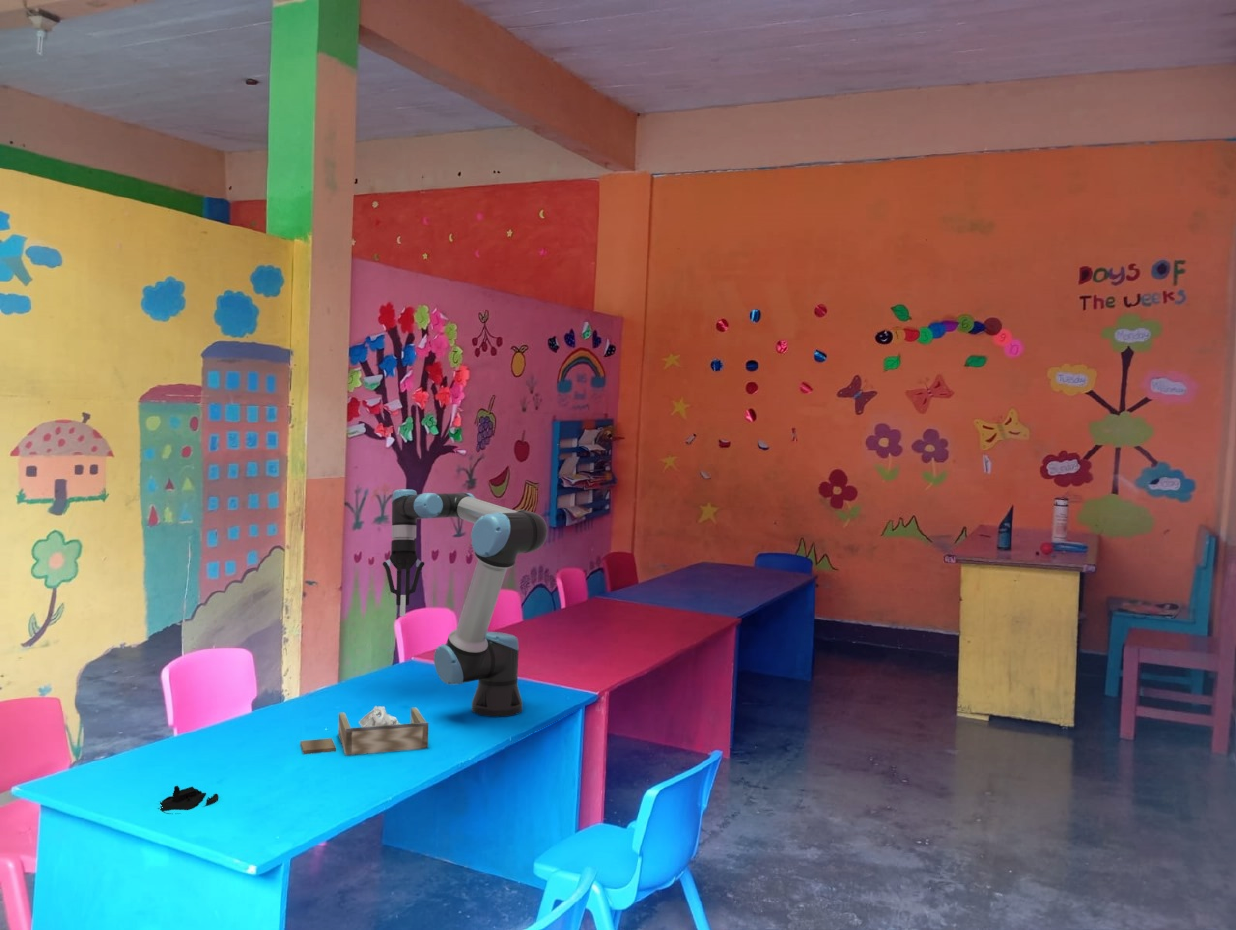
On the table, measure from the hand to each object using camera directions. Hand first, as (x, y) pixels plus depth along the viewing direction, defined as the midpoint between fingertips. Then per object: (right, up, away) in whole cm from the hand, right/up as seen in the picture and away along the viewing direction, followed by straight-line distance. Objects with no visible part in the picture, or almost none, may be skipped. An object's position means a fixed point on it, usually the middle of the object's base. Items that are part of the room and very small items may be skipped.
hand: (402, 616), depth 305 cm
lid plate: (-12, -28, -47) cm, 56 cm away
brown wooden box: (+3, -27, -40) cm, 48 cm away
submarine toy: (-29, -29, -86) cm, 95 cm away
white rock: (+2, -28, -38) cm, 47 cm away
